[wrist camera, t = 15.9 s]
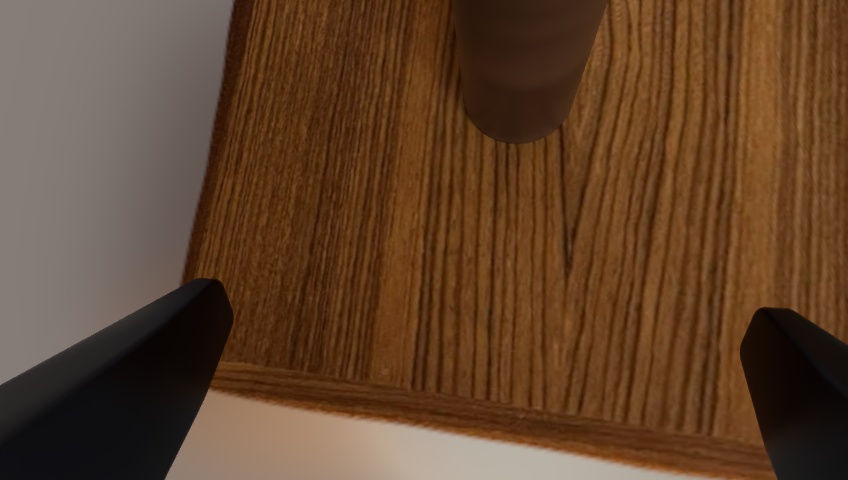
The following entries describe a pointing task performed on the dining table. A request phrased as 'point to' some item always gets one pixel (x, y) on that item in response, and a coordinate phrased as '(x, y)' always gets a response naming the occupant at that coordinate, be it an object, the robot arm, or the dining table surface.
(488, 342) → the dining table surface
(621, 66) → the dining table surface
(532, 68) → the pepper mill
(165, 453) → the robot arm
